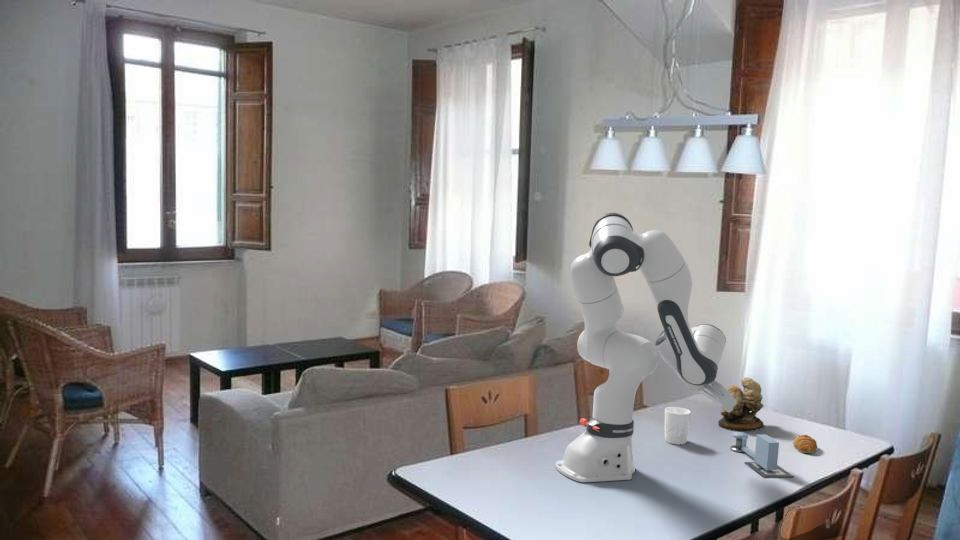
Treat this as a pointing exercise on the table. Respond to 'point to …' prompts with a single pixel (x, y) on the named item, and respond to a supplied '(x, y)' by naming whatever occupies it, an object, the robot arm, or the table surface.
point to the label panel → (768, 471)
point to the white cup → (676, 425)
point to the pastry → (805, 444)
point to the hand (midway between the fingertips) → (728, 408)
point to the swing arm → (761, 450)
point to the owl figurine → (744, 407)
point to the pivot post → (737, 446)
